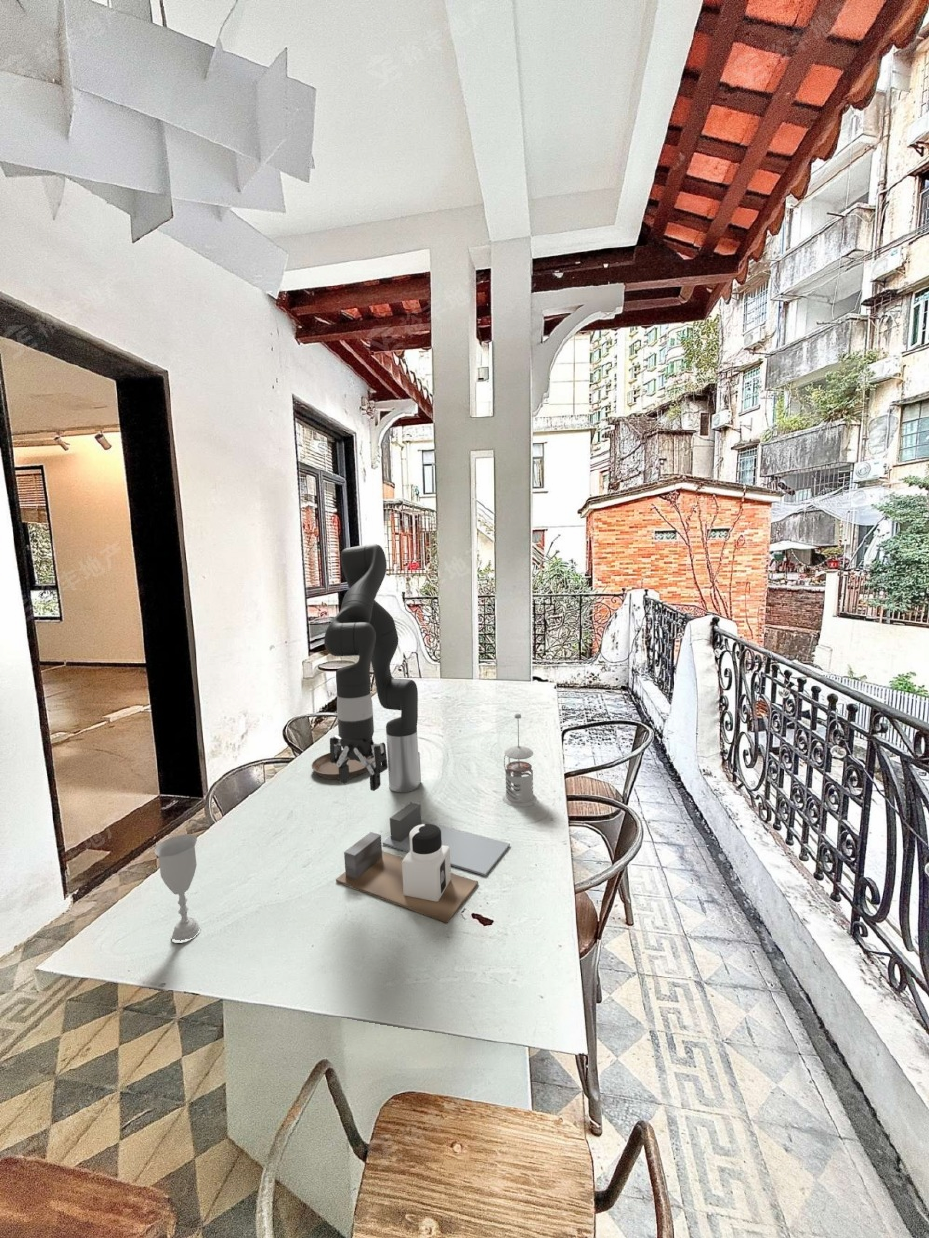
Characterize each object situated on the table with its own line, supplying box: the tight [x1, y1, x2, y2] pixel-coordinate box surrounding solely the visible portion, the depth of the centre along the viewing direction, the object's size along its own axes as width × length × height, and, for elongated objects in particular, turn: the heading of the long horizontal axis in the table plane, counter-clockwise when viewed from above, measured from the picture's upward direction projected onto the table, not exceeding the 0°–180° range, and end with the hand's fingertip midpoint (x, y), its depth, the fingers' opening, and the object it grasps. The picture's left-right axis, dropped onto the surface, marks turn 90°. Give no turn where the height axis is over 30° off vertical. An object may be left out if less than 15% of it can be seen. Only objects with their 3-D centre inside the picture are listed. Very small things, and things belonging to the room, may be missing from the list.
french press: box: [502, 713, 538, 808], centre depth 145 cm, size 10×12×25 cm
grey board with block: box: [382, 801, 511, 877], centre depth 123 cm, size 13×28×6 cm, turn 61°
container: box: [402, 824, 452, 902], centre depth 106 cm, size 8×8×13 cm
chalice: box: [154, 833, 201, 941], centre depth 96 cm, size 7×7×18 cm
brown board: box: [335, 831, 479, 923], centre depth 109 cm, size 13×28×6 cm, turn 61°
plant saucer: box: [311, 749, 373, 780], centre depth 170 cm, size 21×21×3 cm
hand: (359, 785), depth 113 cm, fingers open, 8 cm apart
